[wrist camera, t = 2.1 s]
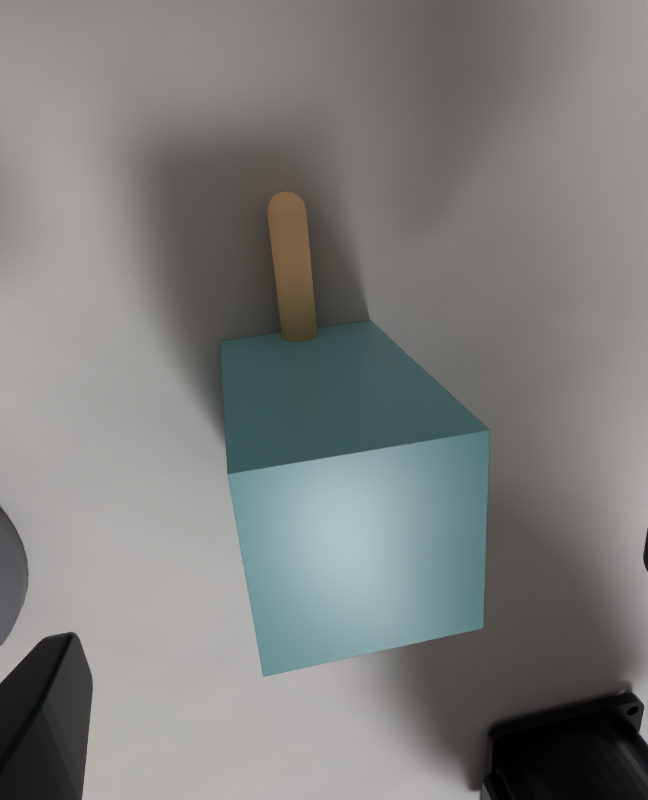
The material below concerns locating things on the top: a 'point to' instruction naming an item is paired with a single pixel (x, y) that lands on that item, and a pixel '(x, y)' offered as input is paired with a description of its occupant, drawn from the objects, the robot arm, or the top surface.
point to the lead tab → (348, 480)
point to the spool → (11, 576)
